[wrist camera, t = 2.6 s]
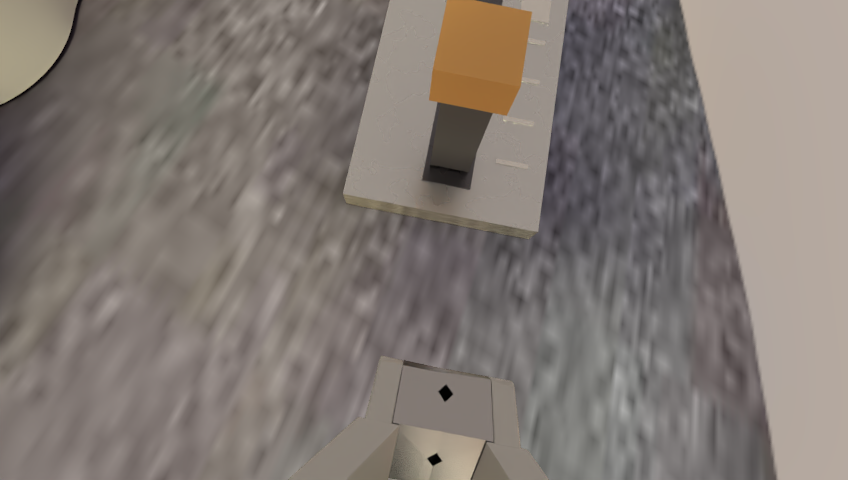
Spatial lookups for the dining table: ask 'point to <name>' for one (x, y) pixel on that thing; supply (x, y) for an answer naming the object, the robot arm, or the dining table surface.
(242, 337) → the dining table surface
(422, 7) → the console board
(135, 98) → the dining table surface
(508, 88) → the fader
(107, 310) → the dining table surface
